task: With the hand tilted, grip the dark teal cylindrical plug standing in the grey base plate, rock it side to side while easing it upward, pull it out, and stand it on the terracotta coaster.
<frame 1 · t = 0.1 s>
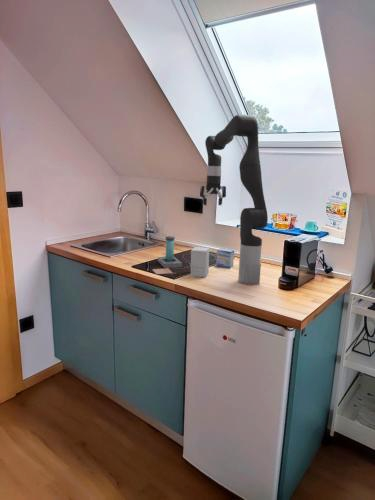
hand: (212, 205, 205), 29 cm above the worktop, tool pointing down, fingers open, 8 cm apart
grey base plate: (169, 264, 194), on the worktop
plug: (169, 263, 194), resting on grey base plate
coaster: (162, 272, 180), on the worktop
supplement box: (199, 275, 178), on the worktop
medicine box: (224, 266, 194), on the worktop
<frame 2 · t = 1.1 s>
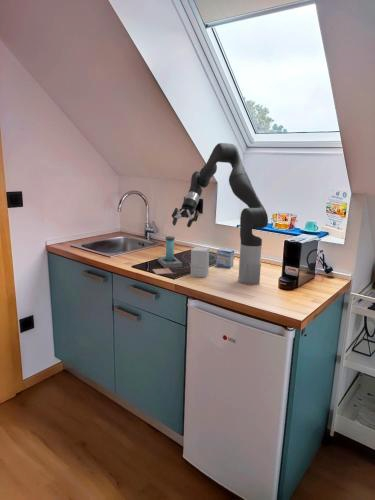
hand: (180, 225, 200), 19 cm above the worktop, tool tilted 45°, fingers open, 8 cm apart
nothing on the worktop moved.
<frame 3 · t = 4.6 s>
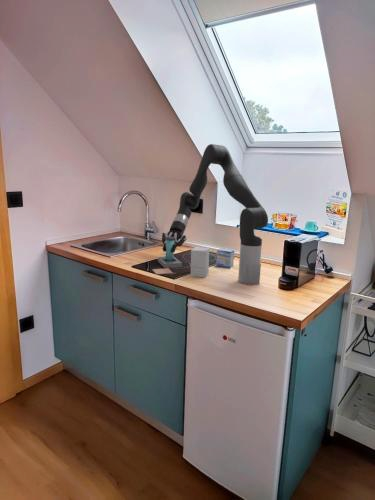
hand: (167, 251, 190), 8 cm above the worktop, tool tilted 45°, fingers closed on plug, 4 cm apart
plug: (169, 263, 194), point 1 cm above the worktop, touching gripper, grey base plate
everything else where it was.
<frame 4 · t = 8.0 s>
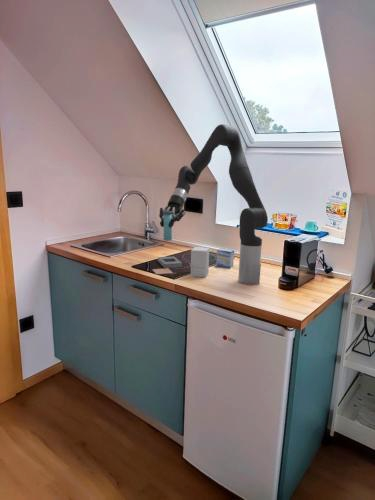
hand: (165, 226, 181), 21 cm above the worktop, tool tilted 45°, fingers closed on plug, 4 cm apart
plug: (167, 239, 184), point 14 cm above the worktop, touching gripper
everything else where it was.
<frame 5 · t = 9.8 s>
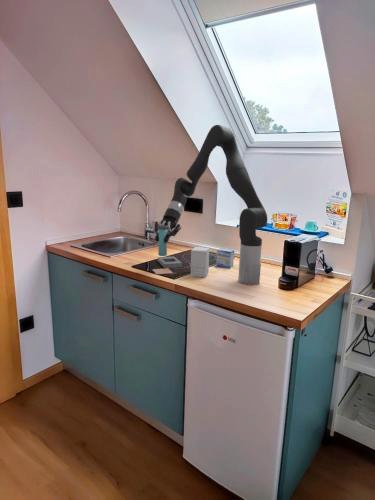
hand: (160, 241, 175), 15 cm above the worktop, tool tilted 45°, fingers closed on plug, 4 cm apart
plug: (162, 255, 179), point 8 cm above the worktop, touching gripper
everything else where it was.
when the fingers open (9 cm above the worktop, at t = 11.3 s): plug drops 1 cm, resting on coaster.
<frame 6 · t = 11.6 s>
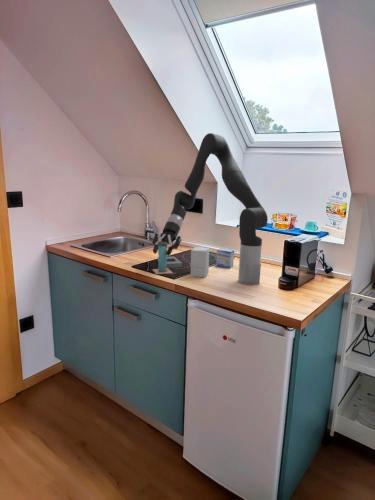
hand: (160, 253, 177), 9 cm above the worktop, tool tilted 45°, fingers open, 6 cm apart
plug: (162, 270, 180), point 1 cm above the worktop, touching coaster
everything else where it was.
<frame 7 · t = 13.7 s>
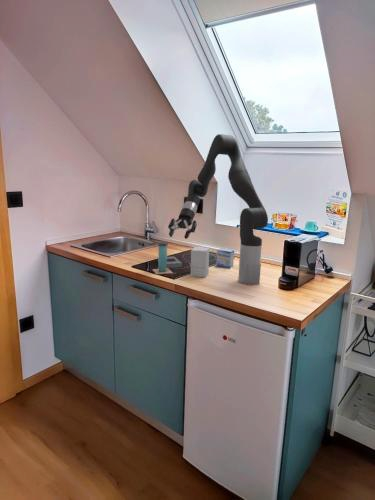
hand: (177, 237, 189), 15 cm above the worktop, tool tilted 45°, fingers open, 8 cm apart
nothing on the worktop moved.
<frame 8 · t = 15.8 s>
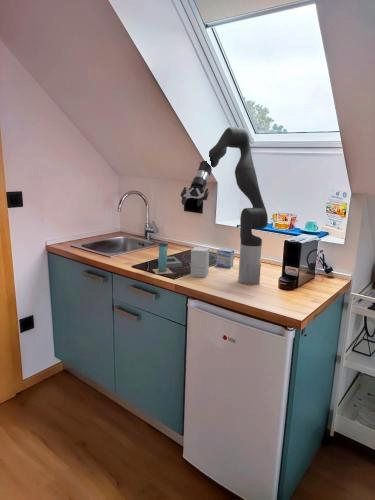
hand: (190, 204, 192), 31 cm above the worktop, tool tilted 45°, fingers open, 8 cm apart
nothing on the worktop moved.
at the end: plug inside the target area on the coaster (0.1 cm from its centre), point 0.6 cm above the coaster's base; plug tilted 1°; the gripper is holding nothing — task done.
